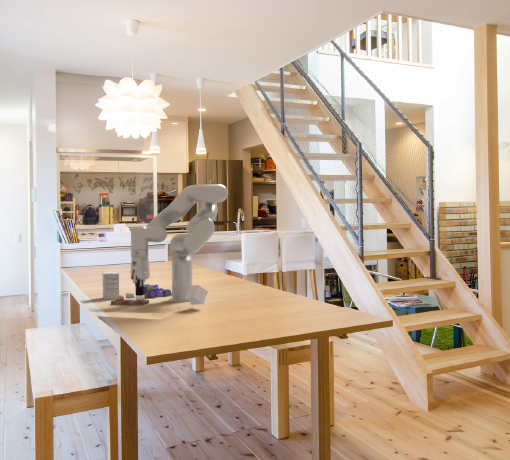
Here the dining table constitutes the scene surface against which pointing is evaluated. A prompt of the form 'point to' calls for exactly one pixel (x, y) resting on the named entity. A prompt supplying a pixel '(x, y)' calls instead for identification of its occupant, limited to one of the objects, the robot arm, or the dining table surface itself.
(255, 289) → the dining table surface
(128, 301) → the button plate
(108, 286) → the supplement box
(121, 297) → the terracotta button
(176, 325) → the dining table surface
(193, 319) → the dining table surface
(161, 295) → the toy race car
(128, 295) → the sage button
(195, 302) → the gray cube
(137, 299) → the cream button
